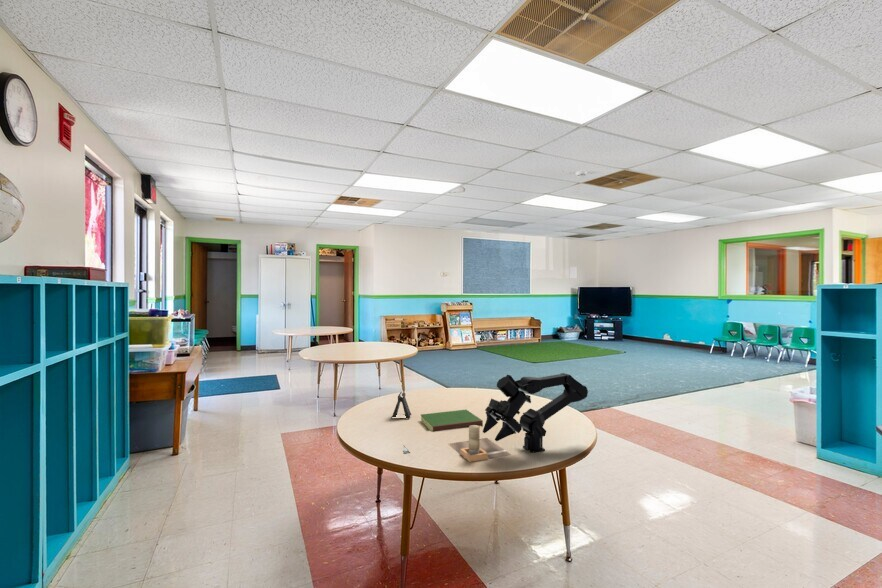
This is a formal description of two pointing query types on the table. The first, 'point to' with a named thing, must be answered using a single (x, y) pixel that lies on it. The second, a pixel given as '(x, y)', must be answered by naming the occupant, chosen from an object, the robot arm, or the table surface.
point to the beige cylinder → (474, 439)
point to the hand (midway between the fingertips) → (489, 436)
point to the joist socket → (475, 457)
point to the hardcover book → (450, 420)
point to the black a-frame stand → (405, 406)
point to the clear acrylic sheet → (484, 444)
